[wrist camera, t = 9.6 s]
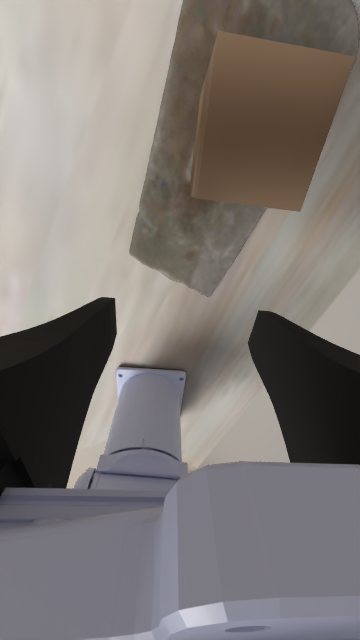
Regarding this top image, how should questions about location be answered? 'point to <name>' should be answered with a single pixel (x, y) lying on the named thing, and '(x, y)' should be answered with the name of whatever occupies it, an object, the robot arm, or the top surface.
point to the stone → (181, 122)
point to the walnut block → (264, 120)
